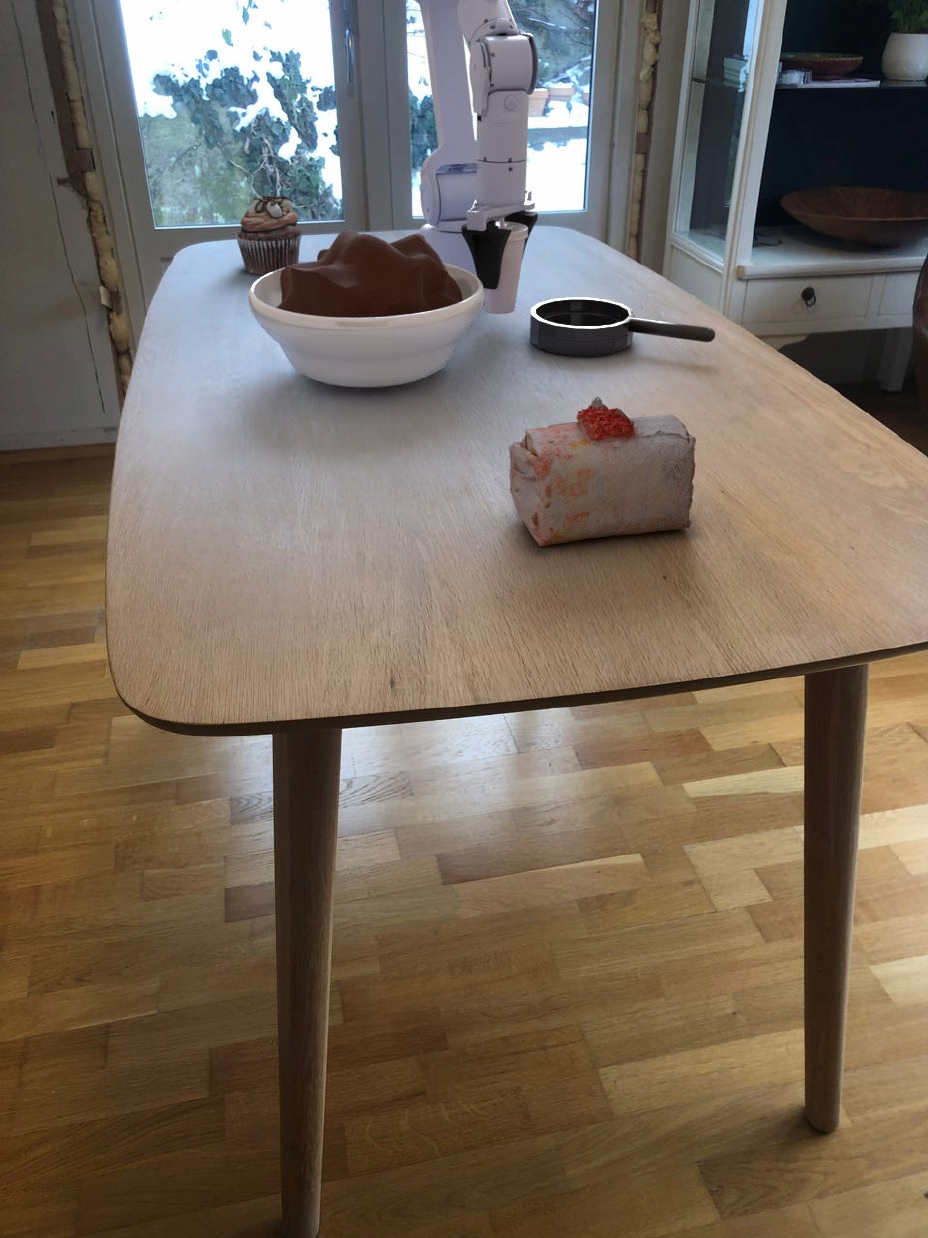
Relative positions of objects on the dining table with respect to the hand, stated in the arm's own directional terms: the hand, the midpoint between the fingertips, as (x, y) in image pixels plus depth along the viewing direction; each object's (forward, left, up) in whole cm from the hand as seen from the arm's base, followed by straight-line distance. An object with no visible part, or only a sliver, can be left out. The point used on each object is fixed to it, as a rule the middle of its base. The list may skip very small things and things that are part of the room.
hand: (499, 281), depth 116 cm
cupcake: (-43, +13, -6) cm, 45 cm away
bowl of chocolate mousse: (-7, -20, -6) cm, 22 cm away
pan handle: (+22, 0, -4) cm, 22 cm away
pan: (+11, 0, -6) cm, 12 cm away
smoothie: (0, 0, -4) cm, 4 cm away
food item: (+27, -43, -6) cm, 52 cm away
